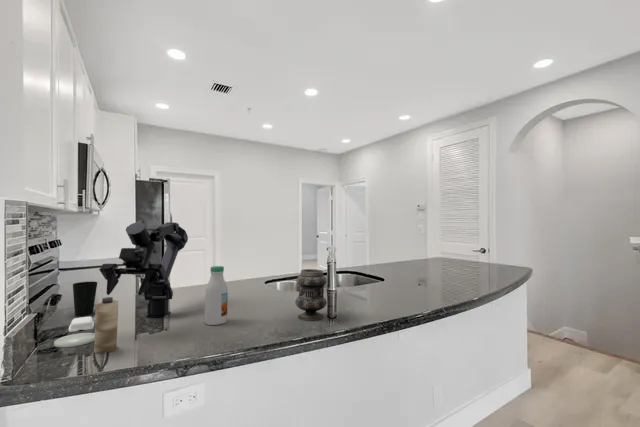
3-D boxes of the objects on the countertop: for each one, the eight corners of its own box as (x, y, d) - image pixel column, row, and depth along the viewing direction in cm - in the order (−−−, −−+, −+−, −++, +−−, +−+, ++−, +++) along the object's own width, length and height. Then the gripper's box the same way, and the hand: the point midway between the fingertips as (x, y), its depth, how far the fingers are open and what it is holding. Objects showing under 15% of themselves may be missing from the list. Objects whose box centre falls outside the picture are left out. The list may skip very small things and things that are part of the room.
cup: (82, 317, 117) (84, 285, 118) (66, 316, 119) (67, 284, 119) (101, 312, 125) (102, 281, 125) (85, 311, 126) (86, 281, 127)
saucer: (104, 335, 99) (104, 332, 99) (79, 347, 89) (79, 344, 89) (72, 335, 99) (72, 332, 99) (44, 347, 89) (44, 344, 89)
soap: (70, 326, 109) (70, 317, 109) (94, 322, 112) (94, 314, 113) (67, 333, 101) (68, 324, 101) (93, 329, 105) (94, 321, 105)
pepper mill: (120, 346, 90) (122, 296, 91) (108, 353, 85) (110, 300, 85) (102, 345, 90) (104, 295, 91) (89, 353, 85) (91, 300, 86)
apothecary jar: (332, 317, 121) (333, 270, 122) (311, 324, 112) (311, 273, 113) (310, 311, 130) (311, 267, 130) (288, 317, 121) (289, 270, 122)
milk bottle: (214, 327, 108) (215, 268, 109) (199, 323, 112) (201, 266, 113) (231, 321, 114) (232, 266, 115) (217, 318, 119) (218, 264, 119)
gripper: (104, 238, 101) (79, 278, 90) (163, 238, 103) (146, 278, 91) (116, 260, 109) (95, 300, 98) (172, 260, 110) (157, 299, 99)
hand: (123, 294), depth 96 cm, fingers open, 9 cm apart
